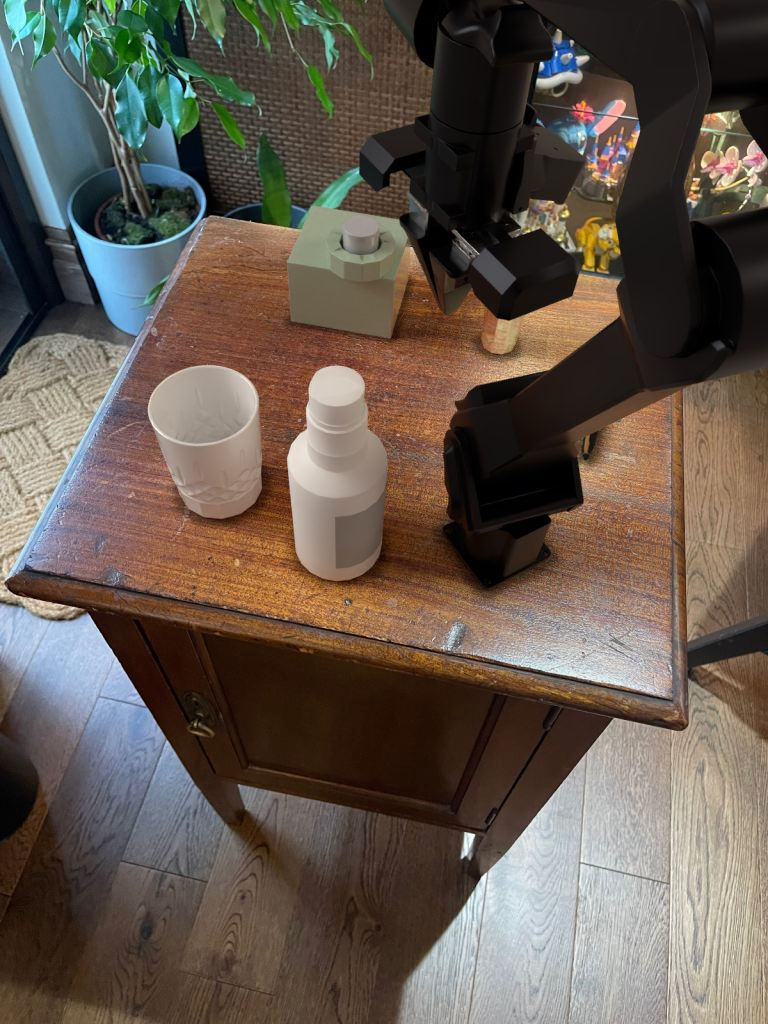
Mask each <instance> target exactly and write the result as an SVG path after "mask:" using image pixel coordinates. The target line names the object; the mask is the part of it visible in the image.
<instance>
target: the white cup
mask: <svg viewBox="0 0 768 1024" xmlns="http://www.w3.org/2000/svg"><path fill="white" fill-rule="evenodd" d="M147 414H148V415H147V416H148V419H149V422H150V424H151V427H152V429H153V432H154V435H155V437H156V440H157V442H158V445H159V448H160V451H161V453H162V456H163V458H164V461H165V463H166V466H167V468H168V471H169V473H170V476H171V478H172V480H173V482H174V484H175V486H176V488H177V491H178V494H179V496H180V498H181V499H182V501H183V502H184V504H185V506H186V507H187V510H190V511H192V512H194V513H195V514H197V515H199V516H200V517H202V518H207V519H208V518H209V519H219V520H224V519H228V518H231V517H234V516H238V515H241V514H242V513H244V512H245V511H246V510H248V509H249V508H250V507H252V506H253V505H254V504H255V503H256V502H257V499H258V498H259V496H260V494H261V493H262V490H263V481H262V464H263V447H262V445H263V444H262V442H263V440H262V439H263V437H262V427H261V426H262V425H261V409H260V397H259V394H258V391H257V388H256V386H255V385H254V383H253V382H252V381H251V380H250V379H249V378H248V377H247V376H246V375H244V374H242V373H241V372H239V371H237V370H234V369H232V368H229V367H226V366H221V365H212V364H203V365H202V364H201V365H195V366H190V367H186V368H184V369H181V370H178V371H176V372H174V373H172V374H171V375H169V376H167V377H166V378H164V379H163V380H162V381H161V382H160V383H159V384H158V385H157V386H156V387H155V388H154V390H153V391H152V393H151V395H150V398H149V400H148V405H147Z"/></svg>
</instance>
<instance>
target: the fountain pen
mask: <svg viewBox="0 0 768 1024" xmlns="http://www.w3.org/2000/svg"><path fill="white" fill-rule="evenodd" d="M599 431H600V430H598V431H596V432H594V433H592V434H590V435H588V436H586V437H584V438H582V443H581V444H582V445H581V456H582V459H583V461H584V462H586V461H587V460H588V459H590V458H591V455H592V453H593V451H594V448H595V445H596V442H597V438H598V436H599Z"/></svg>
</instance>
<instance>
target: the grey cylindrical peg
mask: <svg viewBox="0 0 768 1024" xmlns="http://www.w3.org/2000/svg"><path fill="white" fill-rule="evenodd" d="M378 246H379V224H378V222H377V221H376V220H375V219H374V218H372V217H370V216H366V215H354V216H351V217H349V218H347V219H346V220H345V221H344V223H343V247H344V249H345V250H346V251H347V252H349V253H351V254H356V255H367V254H372V253H374V252H375V251H377V249H378Z"/></svg>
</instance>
